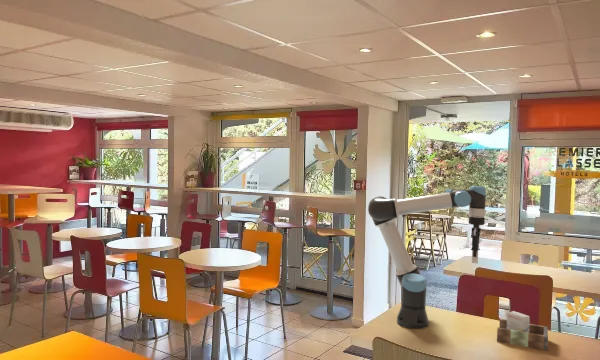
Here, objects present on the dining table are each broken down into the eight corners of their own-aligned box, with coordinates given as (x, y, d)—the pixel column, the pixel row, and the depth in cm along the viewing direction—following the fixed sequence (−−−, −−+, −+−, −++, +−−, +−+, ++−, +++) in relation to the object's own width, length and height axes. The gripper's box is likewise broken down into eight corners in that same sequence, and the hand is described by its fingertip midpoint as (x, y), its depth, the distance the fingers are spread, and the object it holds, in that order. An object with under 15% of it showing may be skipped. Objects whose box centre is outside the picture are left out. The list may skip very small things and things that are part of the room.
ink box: (529, 342, 208) (531, 316, 207) (522, 344, 205) (524, 317, 205) (512, 335, 215) (513, 310, 215) (505, 337, 213) (506, 312, 212)
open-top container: (496, 341, 207) (497, 328, 207) (499, 331, 221) (499, 318, 221) (547, 350, 198) (547, 337, 198) (546, 339, 212) (547, 326, 211)
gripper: (483, 218, 226) (481, 266, 227) (486, 216, 238) (484, 261, 238) (467, 217, 229) (465, 264, 230) (470, 214, 241) (468, 259, 242)
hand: (474, 262), depth 234 cm, fingers closed
